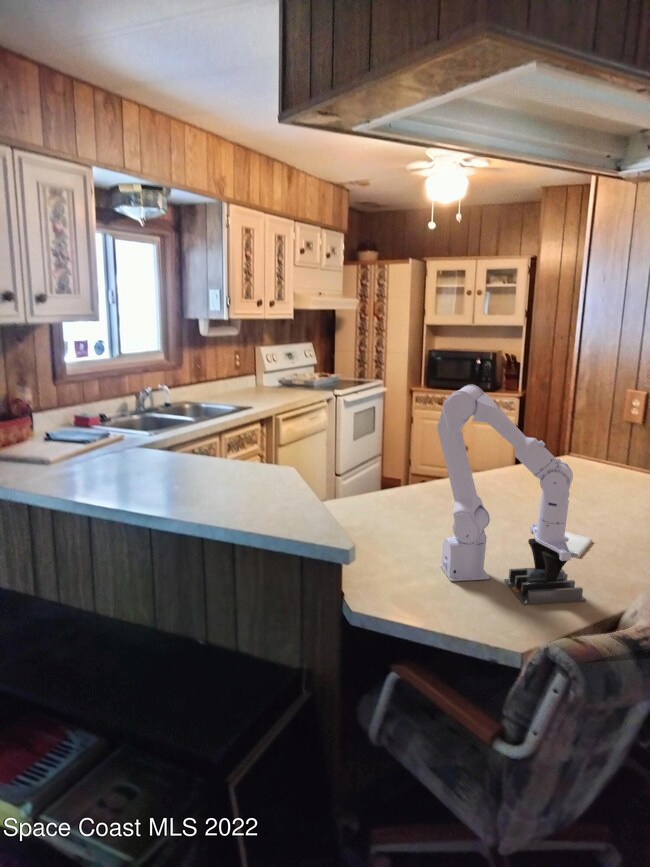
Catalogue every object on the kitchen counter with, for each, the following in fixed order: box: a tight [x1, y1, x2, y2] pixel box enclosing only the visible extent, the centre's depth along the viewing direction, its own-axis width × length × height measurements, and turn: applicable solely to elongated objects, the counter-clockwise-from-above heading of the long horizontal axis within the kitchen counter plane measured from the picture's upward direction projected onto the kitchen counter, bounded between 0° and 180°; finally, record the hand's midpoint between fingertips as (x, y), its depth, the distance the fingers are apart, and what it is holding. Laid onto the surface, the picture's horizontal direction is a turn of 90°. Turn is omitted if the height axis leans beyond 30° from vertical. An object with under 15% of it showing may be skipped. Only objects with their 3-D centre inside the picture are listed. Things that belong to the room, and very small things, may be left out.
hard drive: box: [565, 531, 593, 559], centre depth 159 cm, size 2×8×12 cm
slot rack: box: [503, 567, 587, 606], centre depth 135 cm, size 14×10×3 cm
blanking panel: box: [526, 568, 566, 583], centre depth 135 cm, size 8×2×4 cm, turn 97°
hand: (545, 575), depth 135 cm, fingers open, 4 cm apart
